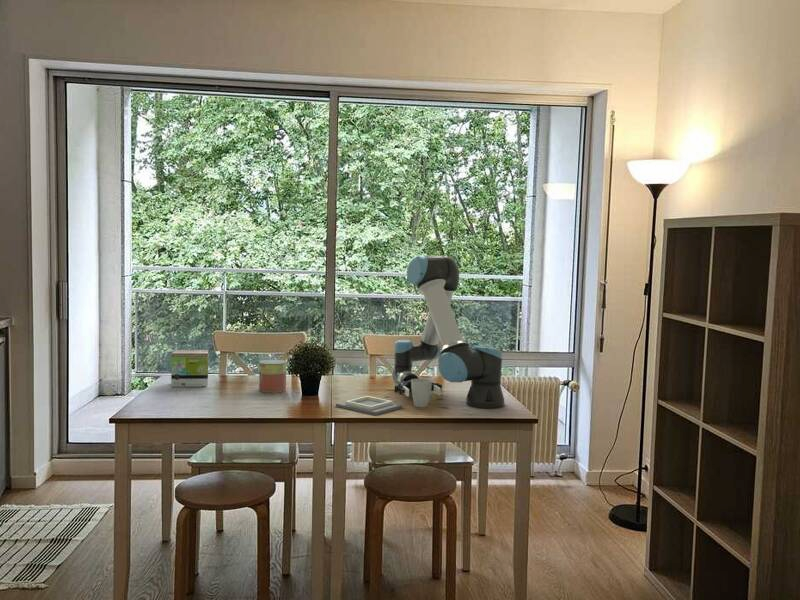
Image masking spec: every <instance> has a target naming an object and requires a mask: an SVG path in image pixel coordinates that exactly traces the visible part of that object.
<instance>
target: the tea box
mask: <svg viewBox="0 0 800 600" xmlns="http://www.w3.org/2000/svg"><path fill="white" fill-rule="evenodd" d="M170 370H171V371H170V372H171V373H170V375H171V376H170V379H171V380H170V381H171V382H170V384H171V385H170V386H171V388H176V387H178V388H182V387H184V388H185V387H188V388H190V387H193V388H195V387H197V388H199V387H200V388H201V387H202V386H207V387H208V381H209V349H173V350H172V353H171V369H170ZM202 388H203V387H202Z"/></svg>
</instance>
